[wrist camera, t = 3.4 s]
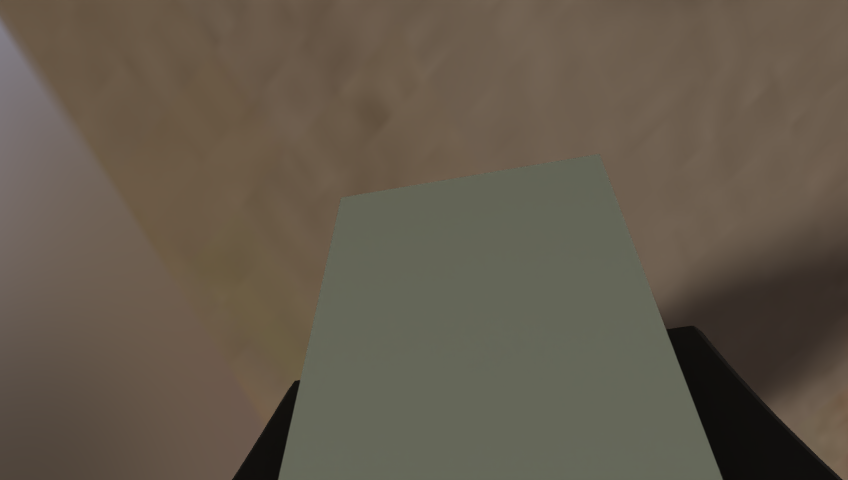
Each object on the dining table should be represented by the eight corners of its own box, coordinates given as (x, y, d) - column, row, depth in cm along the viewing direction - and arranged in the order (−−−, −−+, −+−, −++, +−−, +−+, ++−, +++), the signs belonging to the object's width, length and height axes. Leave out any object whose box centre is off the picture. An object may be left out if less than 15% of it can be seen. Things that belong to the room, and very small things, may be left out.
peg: (599, 154, 11) (822, 740, 5) (616, 352, 14) (785, 950, 7) (341, 197, 12) (209, 781, 5) (397, 382, 14) (355, 966, 7)
